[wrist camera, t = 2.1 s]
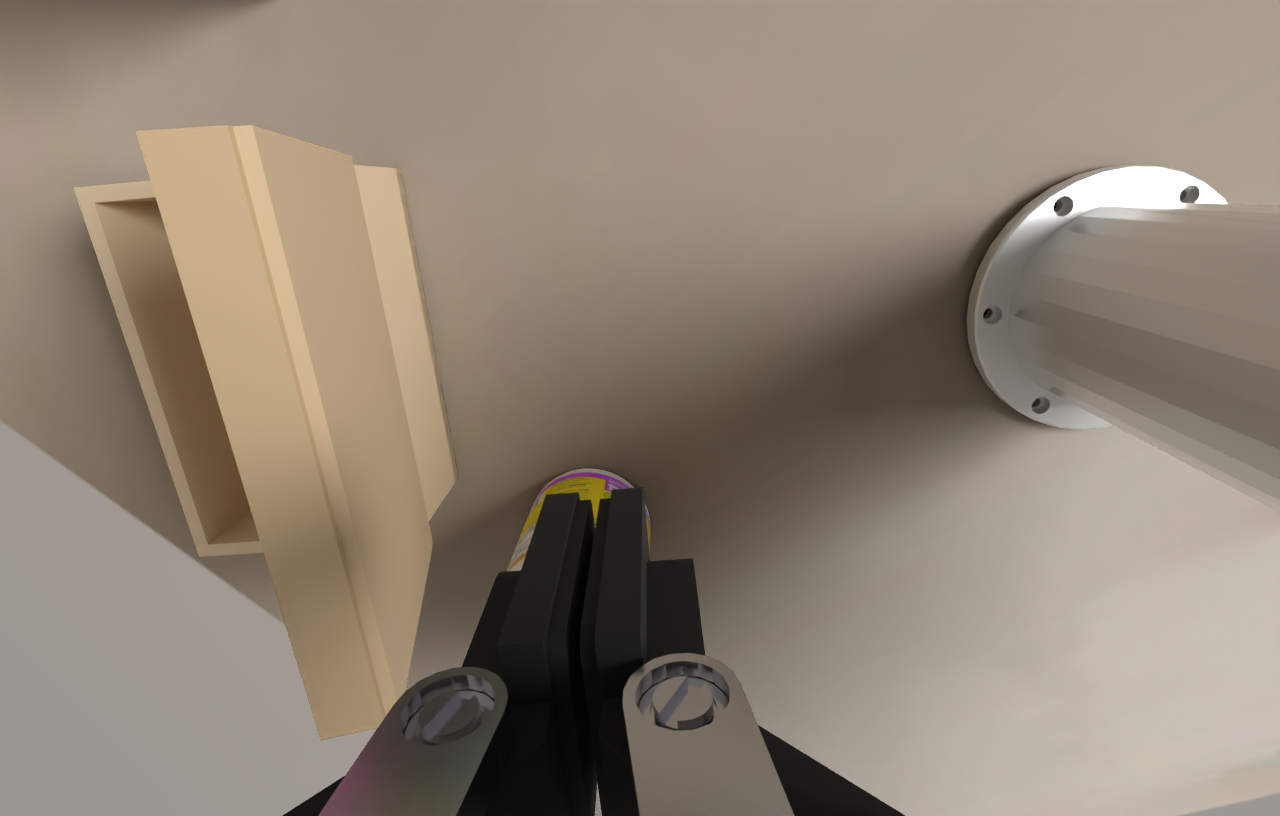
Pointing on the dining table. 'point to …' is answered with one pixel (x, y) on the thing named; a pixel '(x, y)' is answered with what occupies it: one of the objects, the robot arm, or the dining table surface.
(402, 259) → the carton
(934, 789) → the dining table surface
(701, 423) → the dining table surface
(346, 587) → the lid
